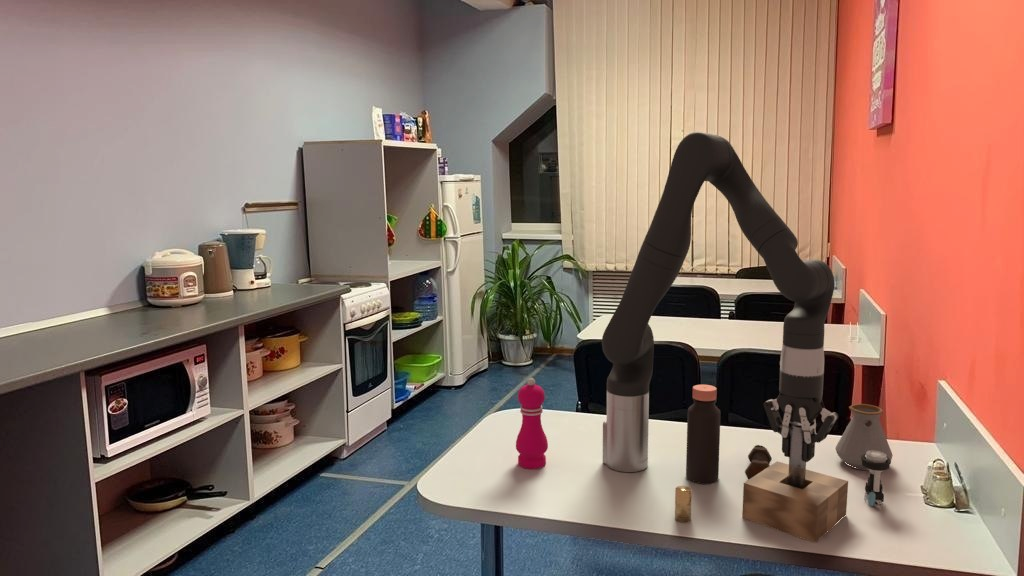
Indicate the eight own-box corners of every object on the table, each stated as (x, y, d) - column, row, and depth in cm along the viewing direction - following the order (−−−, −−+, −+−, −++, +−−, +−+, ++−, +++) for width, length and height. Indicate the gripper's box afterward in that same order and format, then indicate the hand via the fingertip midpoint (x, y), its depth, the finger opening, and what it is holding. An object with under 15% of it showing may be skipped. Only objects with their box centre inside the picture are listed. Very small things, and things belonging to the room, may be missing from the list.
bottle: (724, 477, 161) (727, 387, 158) (708, 487, 156) (711, 394, 153) (695, 468, 165) (698, 381, 162) (679, 478, 160) (682, 388, 157)
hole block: (742, 517, 143) (743, 482, 141) (775, 494, 152) (777, 461, 151) (815, 542, 133) (817, 505, 132) (846, 515, 143) (848, 481, 142)
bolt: (762, 467, 171) (762, 492, 156) (743, 454, 172) (740, 478, 158) (777, 447, 169) (778, 471, 155) (757, 434, 170) (756, 456, 156)
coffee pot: (835, 451, 174) (838, 388, 172) (890, 458, 170) (895, 394, 167) (833, 487, 155) (837, 418, 153) (895, 496, 151) (901, 425, 148)
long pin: (784, 496, 142) (787, 425, 140) (791, 491, 144) (794, 421, 142) (800, 500, 140) (803, 429, 138) (807, 495, 142) (810, 424, 140)
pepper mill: (531, 473, 164) (530, 384, 161) (509, 463, 170) (508, 378, 166) (554, 464, 169) (554, 378, 166) (532, 455, 174) (532, 371, 171)
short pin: (671, 519, 142) (672, 489, 141) (680, 513, 145) (680, 484, 144) (685, 524, 140) (686, 494, 139) (694, 518, 142) (694, 488, 141)
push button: (894, 511, 144) (897, 462, 142) (864, 510, 145) (867, 461, 143) (883, 496, 151) (886, 449, 149) (854, 495, 151) (857, 448, 150)
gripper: (848, 371, 136) (843, 462, 139) (774, 358, 145) (770, 443, 148) (832, 380, 130) (827, 474, 133) (756, 366, 140) (753, 454, 143)
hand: (797, 457), depth 141 cm, fingers closed on long pin, 3 cm apart
